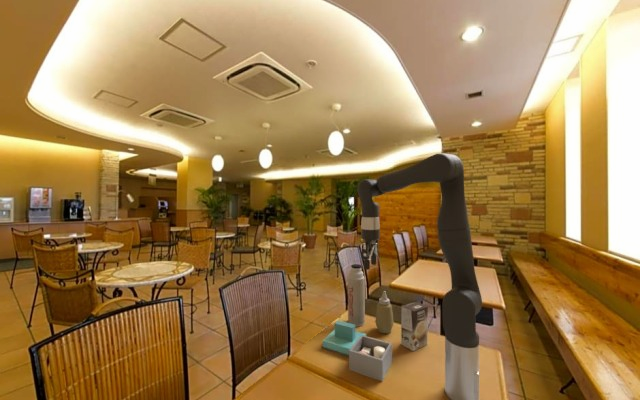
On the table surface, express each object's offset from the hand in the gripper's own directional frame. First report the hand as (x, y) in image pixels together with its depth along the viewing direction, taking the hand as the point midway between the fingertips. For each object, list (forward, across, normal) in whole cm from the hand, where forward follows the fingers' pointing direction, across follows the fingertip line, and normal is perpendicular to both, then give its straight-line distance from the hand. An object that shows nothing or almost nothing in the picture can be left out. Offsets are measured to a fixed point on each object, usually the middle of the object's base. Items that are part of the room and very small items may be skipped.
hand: (370, 266), depth 111 cm
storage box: (+32, -14, -5) cm, 35 cm away
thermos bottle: (+32, +14, +12) cm, 37 cm away
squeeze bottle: (+32, +13, -2) cm, 35 cm away
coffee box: (+32, +8, -16) cm, 37 cm away
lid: (+32, -6, +9) cm, 33 cm away
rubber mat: (+32, -6, +9) cm, 34 cm away
